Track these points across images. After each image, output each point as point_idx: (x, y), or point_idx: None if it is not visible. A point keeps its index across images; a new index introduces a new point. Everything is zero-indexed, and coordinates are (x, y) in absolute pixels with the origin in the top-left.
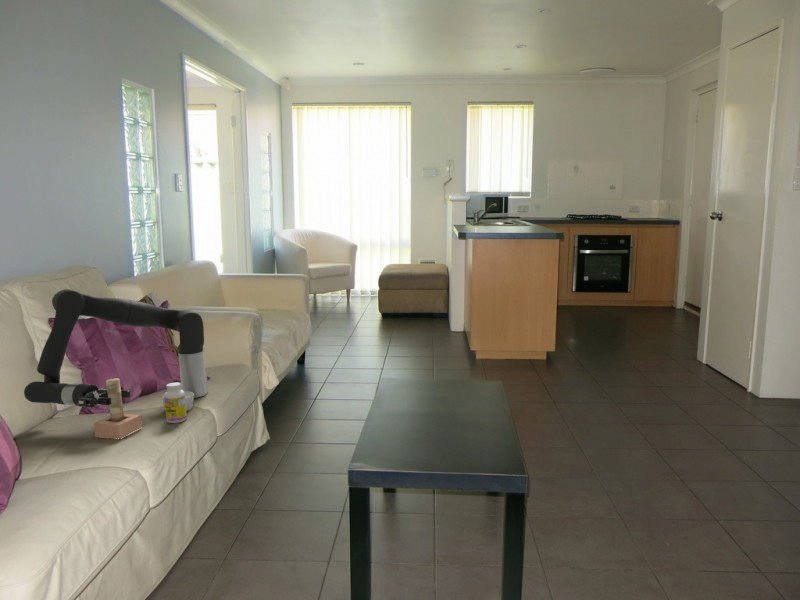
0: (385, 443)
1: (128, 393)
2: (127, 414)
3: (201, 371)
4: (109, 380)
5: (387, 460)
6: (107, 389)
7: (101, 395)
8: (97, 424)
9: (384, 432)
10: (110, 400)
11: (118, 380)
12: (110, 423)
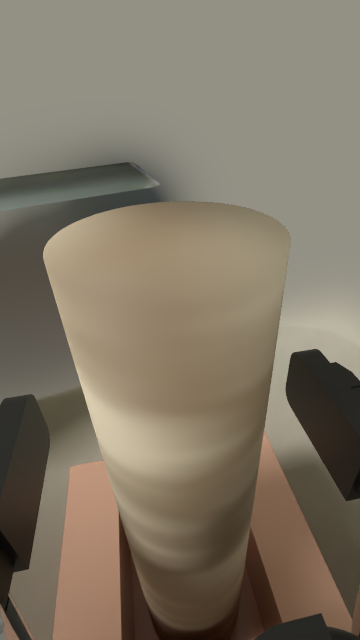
0: (84, 191)
1: (38, 407)
2: (69, 587)
3: None
4: (217, 245)
5: (130, 183)
6: (271, 370)
7: (306, 618)
8: None
9: (47, 198)
10: (295, 362)
11: (140, 212)
12: (284, 505)
